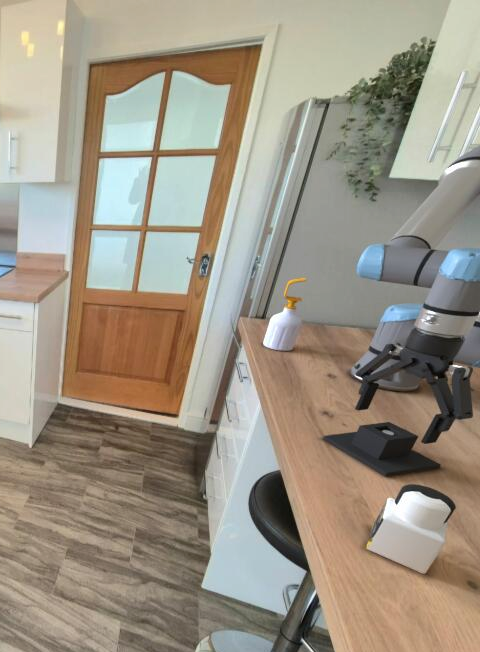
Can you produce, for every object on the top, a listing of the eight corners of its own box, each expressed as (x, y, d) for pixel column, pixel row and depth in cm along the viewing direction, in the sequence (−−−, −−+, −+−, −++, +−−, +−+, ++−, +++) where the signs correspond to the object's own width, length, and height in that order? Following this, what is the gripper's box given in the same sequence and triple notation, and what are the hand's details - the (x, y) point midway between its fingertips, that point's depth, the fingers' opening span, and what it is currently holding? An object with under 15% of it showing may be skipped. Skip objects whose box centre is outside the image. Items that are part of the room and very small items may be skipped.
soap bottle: (293, 353, 148) (318, 282, 137) (262, 348, 152) (284, 279, 142) (292, 345, 155) (315, 277, 144) (262, 340, 159) (283, 274, 148)
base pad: (371, 433, 103) (381, 413, 100) (439, 468, 90) (451, 446, 88) (322, 439, 101) (331, 419, 98) (384, 476, 88) (396, 454, 86)
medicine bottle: (371, 527, 76) (401, 473, 70) (427, 550, 71) (464, 494, 66) (365, 549, 71) (396, 493, 66) (424, 575, 67) (463, 517, 61)
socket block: (379, 440, 98) (389, 421, 96) (408, 455, 93) (418, 436, 91) (350, 444, 97) (359, 425, 95) (378, 459, 92) (388, 440, 90)
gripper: (359, 314, 93) (324, 399, 103) (507, 358, 71) (446, 461, 81) (387, 311, 95) (351, 396, 104) (541, 354, 73) (477, 456, 82)
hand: (392, 424), depth 92 cm, fingers open, 13 cm apart
